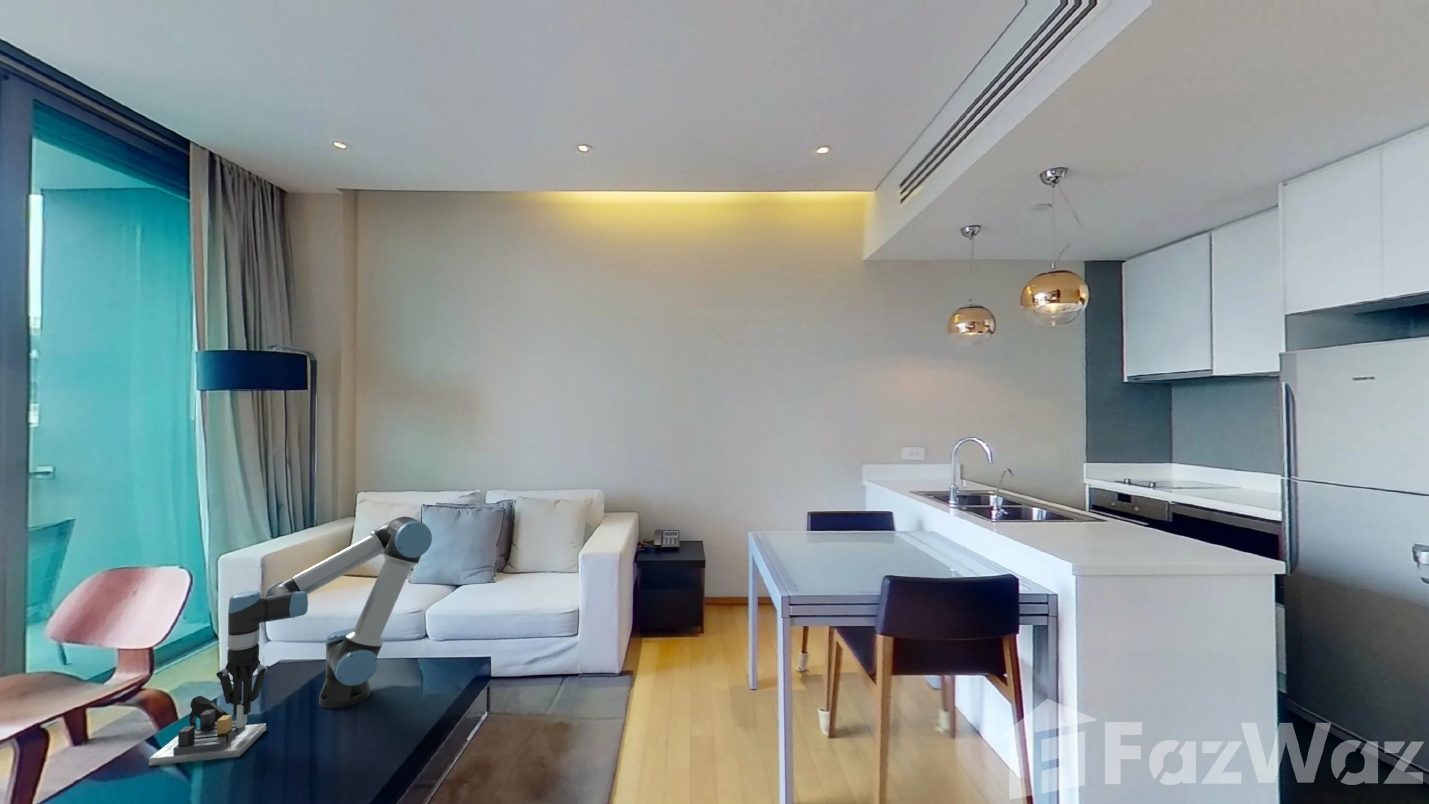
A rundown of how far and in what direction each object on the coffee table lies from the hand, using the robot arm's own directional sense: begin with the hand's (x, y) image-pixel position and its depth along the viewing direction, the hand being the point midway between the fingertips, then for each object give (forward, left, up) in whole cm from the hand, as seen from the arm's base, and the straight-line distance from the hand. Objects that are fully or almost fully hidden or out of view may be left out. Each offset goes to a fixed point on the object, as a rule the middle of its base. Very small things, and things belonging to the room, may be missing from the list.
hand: (241, 725), depth 181 cm
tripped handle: (+4, 0, -1) cm, 5 cm away
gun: (+14, -12, -6) cm, 19 cm away
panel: (+8, 0, -6) cm, 10 cm away
